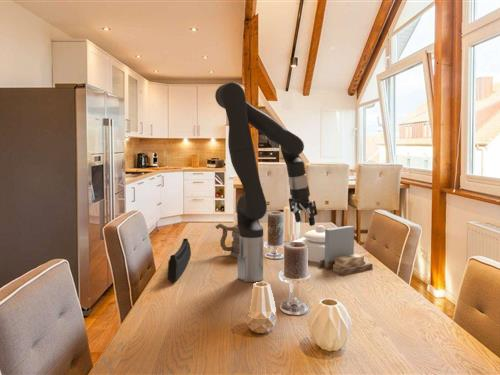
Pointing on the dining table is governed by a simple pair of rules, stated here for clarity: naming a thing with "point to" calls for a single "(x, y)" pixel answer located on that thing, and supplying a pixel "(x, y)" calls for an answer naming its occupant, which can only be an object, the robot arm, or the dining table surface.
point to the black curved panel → (179, 261)
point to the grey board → (338, 242)
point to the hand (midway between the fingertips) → (305, 223)
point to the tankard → (236, 239)
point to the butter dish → (315, 243)
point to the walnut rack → (344, 271)
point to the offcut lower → (338, 268)
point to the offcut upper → (349, 260)
